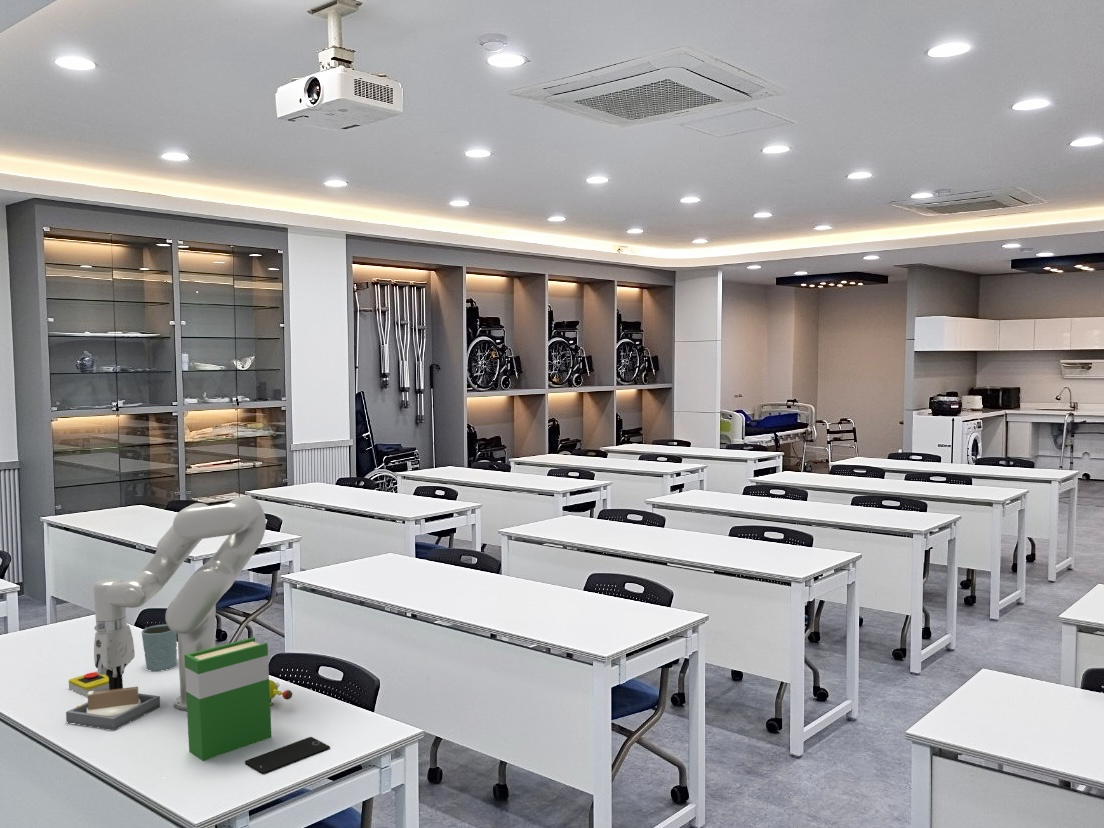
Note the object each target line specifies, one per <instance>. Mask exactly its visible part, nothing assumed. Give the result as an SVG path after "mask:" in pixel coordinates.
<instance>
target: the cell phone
mask: <svg viewBox="0 0 1104 828" xmlns="http://www.w3.org/2000/svg"><path fill="white" fill-rule="evenodd" d="M328 750H331V746H330V745H329V744H326V743H325V742H323V741H320V740H319V739H317V738H315V737H313V736H308V737H306V738H304V739H300V740H298V741H295V742H292V743H289V744H287V745H284V746H282V747H278V748H276V749H273V750H270V751H268V752H265V753H262V754H259V755H257V756H254V757H252V758H249V759H247V760H245V761H244V765H245V766H247V767H249V768H251V769H252V770H253V771H255V772H257V773H259V774H260V775H267V774H269V773H271V772H275V771H277V770H279V769H282V768H285V767H287V766H290V765H292V764H296V763H297V762H300V761H303V760H305V759H308V758H311V757H313V756H315V755H318V754H321V753H323V752H327V751H328Z"/></svg>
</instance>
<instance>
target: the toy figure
mask: <svg viewBox="0 0 1104 828" xmlns="http://www.w3.org/2000/svg"><path fill="white" fill-rule="evenodd" d="M280 685H281V684H280V683H279V682H275V681H274V680H271V679H269V689H270V707H271V706H273V705H274V704H275V703H274V702H272V699H274V698H275V697H276V696H281V695H282V698H283V699H284V700H290V699H292V698H293V692H292V691H291V690H289V689H287V690H283V692H282V690H279V689H278V688H279V687H280Z"/></svg>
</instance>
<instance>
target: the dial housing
mask: <svg viewBox="0 0 1104 828" xmlns="http://www.w3.org/2000/svg"><path fill="white" fill-rule="evenodd" d="M138 696H139V699H140V701H141V704H139V705H137V706H135V707H133V708H131V709H129V710H127V711H125V712H123V713H121V714H119V715H117V716H115V717H110V716H103V715H96V714H89V713H87V708H88V701H87V702H85V703H82V704H80V705H77V706H75V707H73V708H72V709H69V710H67V711H65V716H66V719H65V720H66V723H67V722H68V723H67V724H70V723H75V724H74V725H76V724H80V725H79V726H82V725H86V726H85V727H89V726H92V727H91V728H95V727H99V728H98V729H102V728H104V729H103V730H108V729H109V730H110V731H116V730H118V729H119V727H120V728H121V726H122V727H123V725H124V726H126V725H128V724H130V723H131V722H133V721H135V720H137V719H140V718H142V717H143V716H145V715H147V714H149V713H151V712H153V711H155V710H158V709H159V708H160V707H161V699H160V698H161V696H160V695H152V694H146V693H140V692H138ZM144 714H145V715H144ZM130 721H131V722H130ZM129 722H130V723H129ZM127 723H128V724H127ZM125 724H126V725H125ZM117 728H118V729H117Z"/></svg>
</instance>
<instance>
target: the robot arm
mask: <svg viewBox="0 0 1104 828" xmlns="http://www.w3.org/2000/svg"><path fill="white" fill-rule="evenodd" d="M266 520H267V519H266V514H265V511H264V509H263V507H262V506H261V504H260V503H259V502H258V500H256V499H255V498H253V497H251V496H238V497H236V498H233V499H232V500H231V501H228V502H227V503H222V504H215V505H208V504H205V503H202V502H195V503H193V504H192V503H191V504H190V505H189V506H186V507H185V508H183V509H181V510H180V511H178V512H177V513H176V515H175V517H174V519H173V521H172V525H171V526H170V527H169V529H168V530H167V531H165V533H164V534H163V536H162V537H161V538H160V539H159V541H158V542H157V544H156V551H155V553H154V555H153V557H151V559H150V561H149V562H148V563H147V564H146V565H145V566H144V568H143V569H141V571H140V572H139V573H138V574H137V575H135V576H134V577H132V578H131V579H128V580H126V581H124V580H123V579H121V578H119V577H110V578H103V579H100V580H97V581H96V582H94V585H93V599H94V613H95V626H94V628H93V629H94V630H95V631H96V632H95V635H94V644H93V658H94V659H93V660H94V666H95V668H96V669H97V670H96V672H97V674H99V675H104V674H105V675H106V676H107V677H109V689H110V690H114V689H122V688H124V684H123V682H124V681H123V675H124V673H125V668H126V667H127V666H128V665H129V664H130V663H131V662H132V661H133V660H134V658H135V643H134V638H133V633H132V630H131V627H130V625H129V624H128V620H127V609H126V608H131V609H134V608H139V607H141V606H143V605H144V604H146V603H147V602H148V601H150V600H151V599H152V598H154V597H155V596H157V595H158V593H159V592H160V591H161V590H162V589H163V588H164V586H165V585H166V584H167V583H168V582H170V579H171V578H172V577H173V575H174V574H175V573H176V572H177V570H179V568H180V567H181V565H182V564H183V563H184V562H185V560H186V559H187V558H188V557H189V556H190V554H191V553H192V552H193V550H194V549H195V548H196V547H197V545H198V544H199V543H200V542H201V541H202V540H204V539H211V538H216V537H217V538H218V537H225V536H227V538H225V540H224V541H223V542H222V544H221V546H220V547H219V548H218V549H217V550H216V552H215V554H213V556H212V557H211V558H210V559H209V560H208V561H207V562H205V563H204V564H203V565H202V566H200V567H199V568H198V569H196V570H195V571H194V572H193V574H192V575H191V576H190V578H188V580H187V581H186V582H185V584H184V585H183V586H182V588H181V589H180V590H179V592H178V593H177V594H176V596H175V597H174V598H173V599H172V600H171V602H170V604H168V606H167V608H166V611H165V616H164V617H165V618H164V619H165V624H167V626H168V627H169V628H170V629H171V630H172V631H173V632H175V633H177V651H178V652H177V655H178V670H179V671H178V673H179V691H180V692H179V695H180V696H178V697H176V698H175V700H174V707H175V708H176V709H178V710H181V711H182V710H184V711H187V698H186V678H185V658H184V655H186V654H190V653H193V652H197V651H201V650H205V649H209V648H213V647H216V637H215V636H216V634H215V633H216V628H215V627H216V614H217V613H216V612H217V611H216V610H217V609H216V608H217V607H216V604H217V603H218V602H219V600H220V599H221V598H222V597H223V596H224V594H226V593H227V591H228V590H230V588H231V587H232V586H233V584H234V583H235V581H236V580H237V578H238V577H239V575H240V574H241V572H242V571H243V569H245V567H246V566H247V564H248V563H249V561H250V560H251V559H252V557H253V556H254V554H255V552H256V551H257V550H258V549H259V546H260V545H261V543H262V541H263V538H264V536H265V533H266V532H265V531H266V528H267V527H266V525H267V524H266V523H267V521H266Z"/></svg>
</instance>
